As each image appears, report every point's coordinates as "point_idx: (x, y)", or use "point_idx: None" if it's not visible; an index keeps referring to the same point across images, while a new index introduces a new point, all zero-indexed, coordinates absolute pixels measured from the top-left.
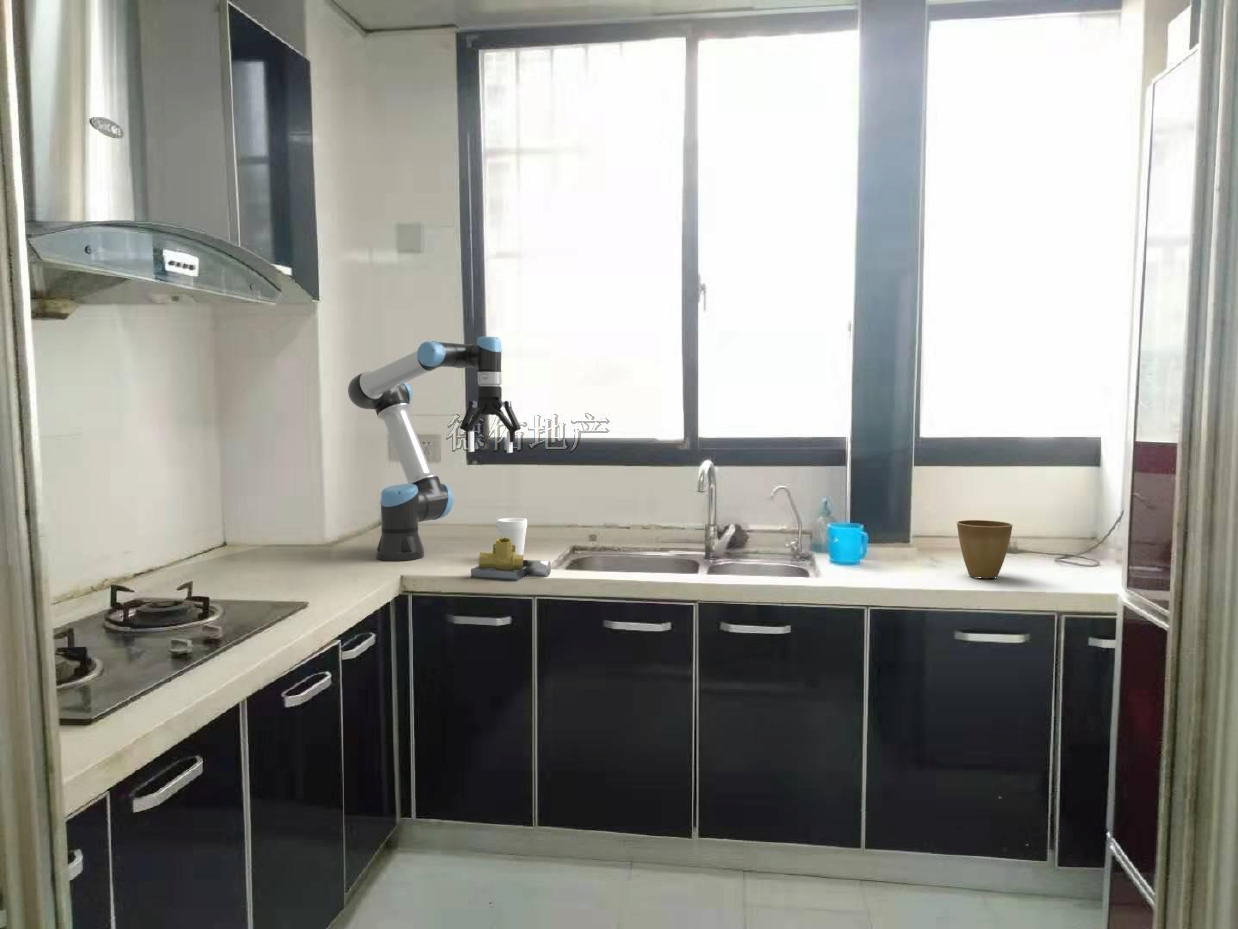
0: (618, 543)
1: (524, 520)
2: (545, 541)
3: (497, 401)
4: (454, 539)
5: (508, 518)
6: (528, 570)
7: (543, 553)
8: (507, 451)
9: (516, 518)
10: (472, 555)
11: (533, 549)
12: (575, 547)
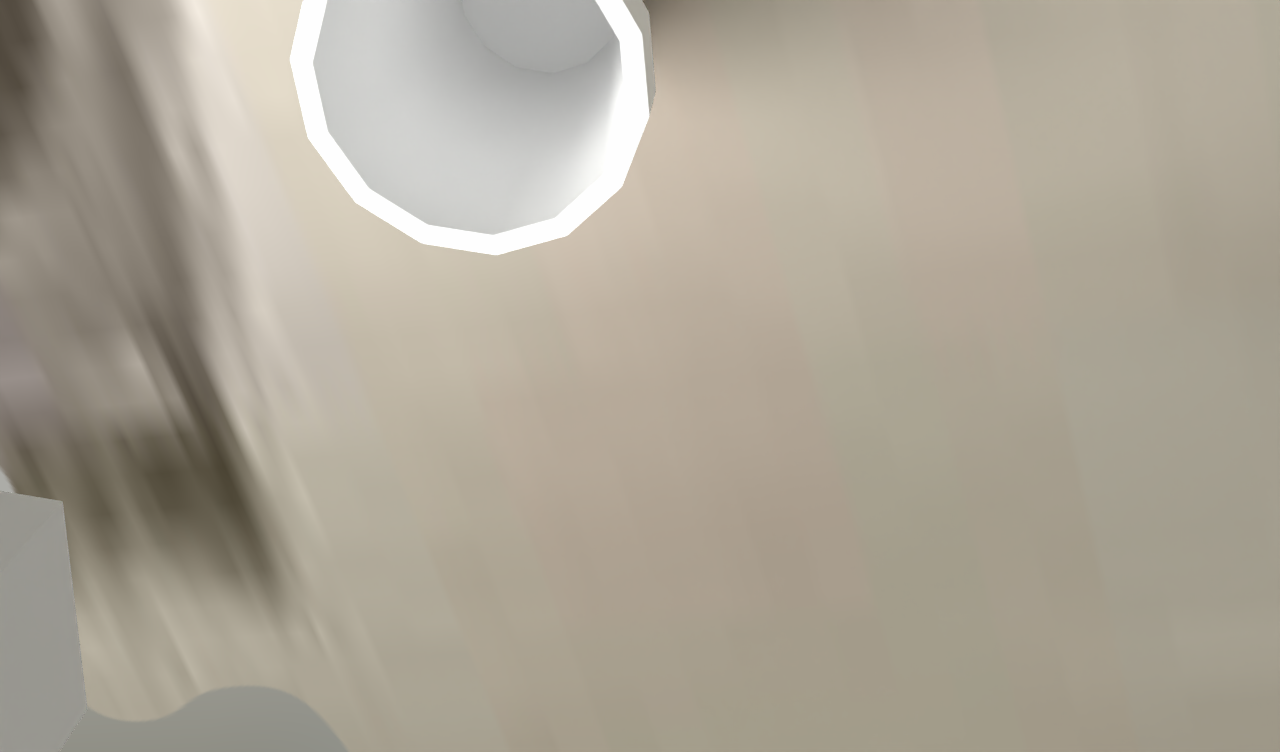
0: None
1: (303, 50)
2: (533, 710)
3: None
4: (1247, 733)
5: (560, 209)
6: None
7: (385, 291)
8: (18, 523)
9: (473, 229)
10: (964, 131)
11: (520, 434)
12: (240, 533)
